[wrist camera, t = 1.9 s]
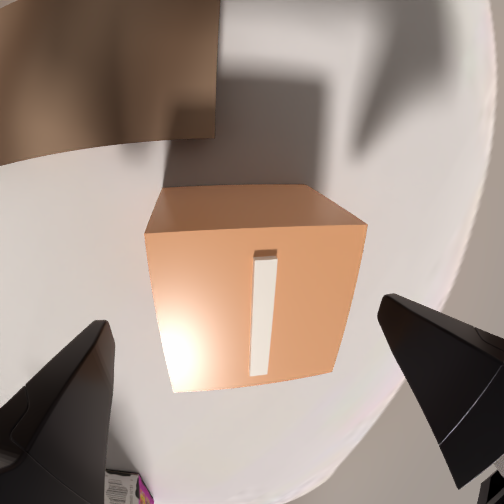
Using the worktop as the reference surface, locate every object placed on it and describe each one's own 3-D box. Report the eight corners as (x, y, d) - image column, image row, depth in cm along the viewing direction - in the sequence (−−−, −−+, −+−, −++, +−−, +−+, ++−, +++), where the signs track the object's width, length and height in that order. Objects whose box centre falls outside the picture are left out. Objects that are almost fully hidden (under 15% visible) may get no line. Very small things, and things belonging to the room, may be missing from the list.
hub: (293, 301, 15) (333, 375, 10) (174, 311, 14) (173, 396, 9) (305, 184, 12) (371, 227, 8) (162, 187, 11) (143, 236, 7)
